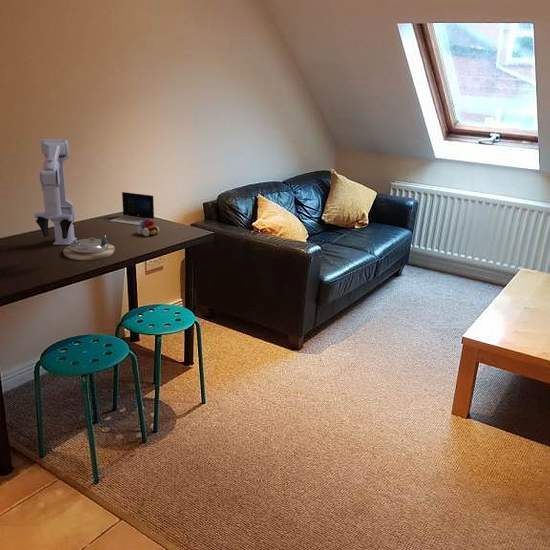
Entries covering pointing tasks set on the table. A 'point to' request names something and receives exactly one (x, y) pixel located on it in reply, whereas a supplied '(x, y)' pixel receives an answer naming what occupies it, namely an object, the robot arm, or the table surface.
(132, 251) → the table surface
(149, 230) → the red white round cluster
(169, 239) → the table surface
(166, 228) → the table surface
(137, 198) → the laptop
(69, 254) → the base plate
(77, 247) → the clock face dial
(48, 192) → the robot arm
